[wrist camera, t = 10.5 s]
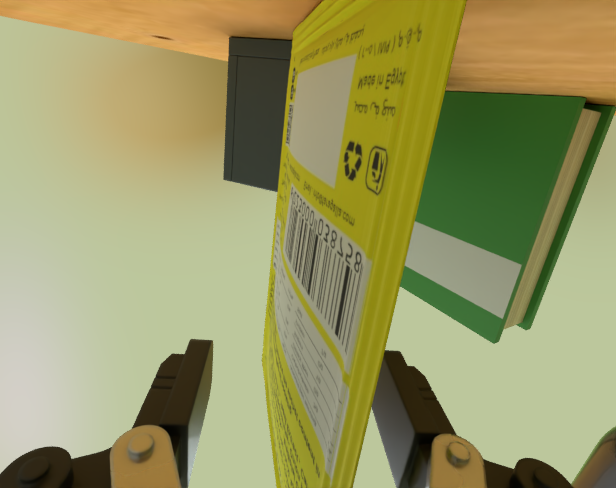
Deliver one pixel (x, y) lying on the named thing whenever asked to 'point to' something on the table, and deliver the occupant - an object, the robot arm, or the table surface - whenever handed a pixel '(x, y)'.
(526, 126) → the hardback book
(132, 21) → the table surface
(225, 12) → the table surface
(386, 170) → the food package
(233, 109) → the waste bin
